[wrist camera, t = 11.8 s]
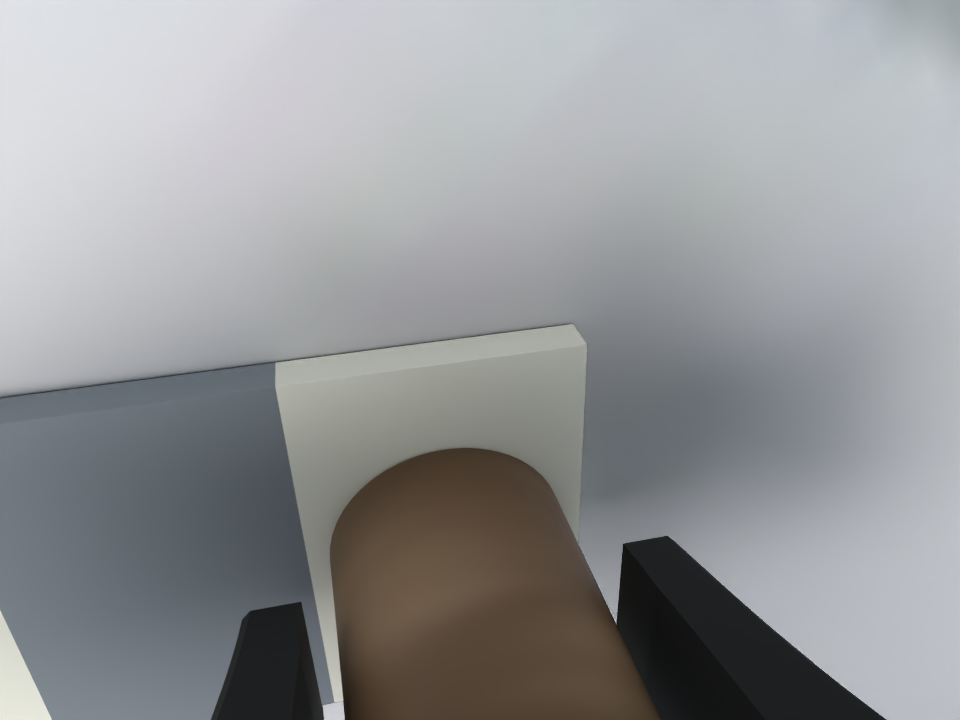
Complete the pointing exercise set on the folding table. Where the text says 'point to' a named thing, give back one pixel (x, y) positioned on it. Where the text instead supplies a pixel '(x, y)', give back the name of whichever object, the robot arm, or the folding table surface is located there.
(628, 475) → the folding table surface
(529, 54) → the folding table surface
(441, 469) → the pawn
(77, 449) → the track
